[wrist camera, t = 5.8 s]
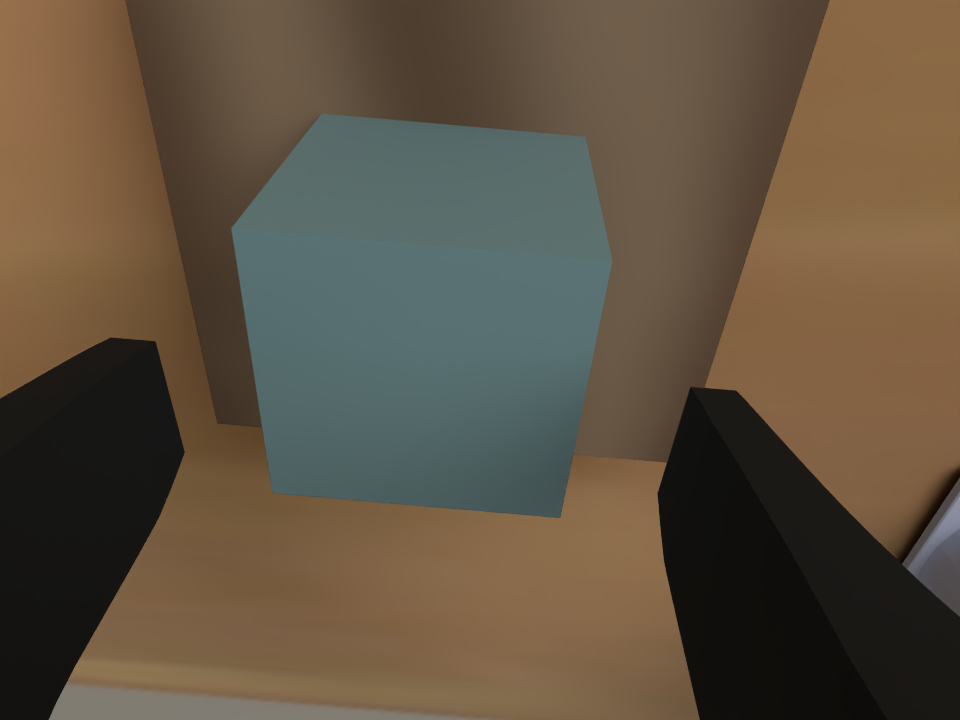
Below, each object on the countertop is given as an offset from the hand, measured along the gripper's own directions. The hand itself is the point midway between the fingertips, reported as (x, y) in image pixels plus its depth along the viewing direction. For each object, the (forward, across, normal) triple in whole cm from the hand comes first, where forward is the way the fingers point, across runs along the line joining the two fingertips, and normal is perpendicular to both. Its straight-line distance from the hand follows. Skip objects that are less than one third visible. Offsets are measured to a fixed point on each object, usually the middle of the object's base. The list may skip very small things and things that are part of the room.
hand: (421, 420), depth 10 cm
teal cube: (+6, 0, 0) cm, 6 cm away
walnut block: (+10, 0, 0) cm, 10 cm away
